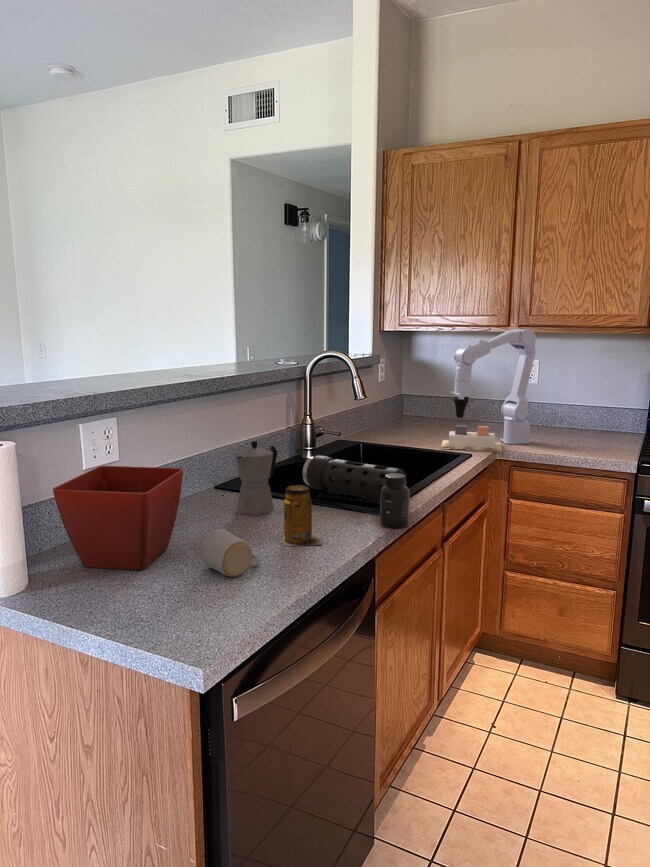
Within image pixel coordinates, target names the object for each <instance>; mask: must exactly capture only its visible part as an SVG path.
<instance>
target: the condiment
mask: <svg viewBox="0 0 650 867" xmlns="http://www.w3.org/2000/svg"><path fill="white" fill-rule="evenodd" d="M309 487H310V486H309ZM309 487H308V485H307V486H306V485H303V484H295V485H289V486H287V487H286V488H285V498H284V501H283V506H284V507H283V513H284V514H283V515H284V517H283V525H284V526H283V527H284V528H283V530H284V533H283V534H282V546H285V547H293V546H294V547H298V546H316V545H323V542H322V536H321V533H313V532H312V531H313V528H312V527H313V525H312V524H313V520H312V519H313V518H312V517H313V515H312V514H313V513H312V512H313V511H312V508H313V506H312V504H313V503H312V502H313V501H312V499H311V493H310V492H311V490H310V488H309Z"/></svg>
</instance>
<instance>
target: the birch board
mask: <svg viewBox="0 0 650 867" xmlns="http://www.w3.org/2000/svg"><path fill="white" fill-rule="evenodd" d="M441 448H450V449H470V450H482V451H481V452H488V451H491V452H492V453H503V447H502V442H496V441H495V445H494V448H485V447H465V446H449V439H442V442H441V446H440V449H441ZM491 452H490V453H491Z"/></svg>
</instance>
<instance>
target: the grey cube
mask: <svg viewBox="0 0 650 867" xmlns="http://www.w3.org/2000/svg"><path fill="white" fill-rule="evenodd" d="M455 431H456V435H467V432H468V425H465V424H455Z"/></svg>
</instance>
